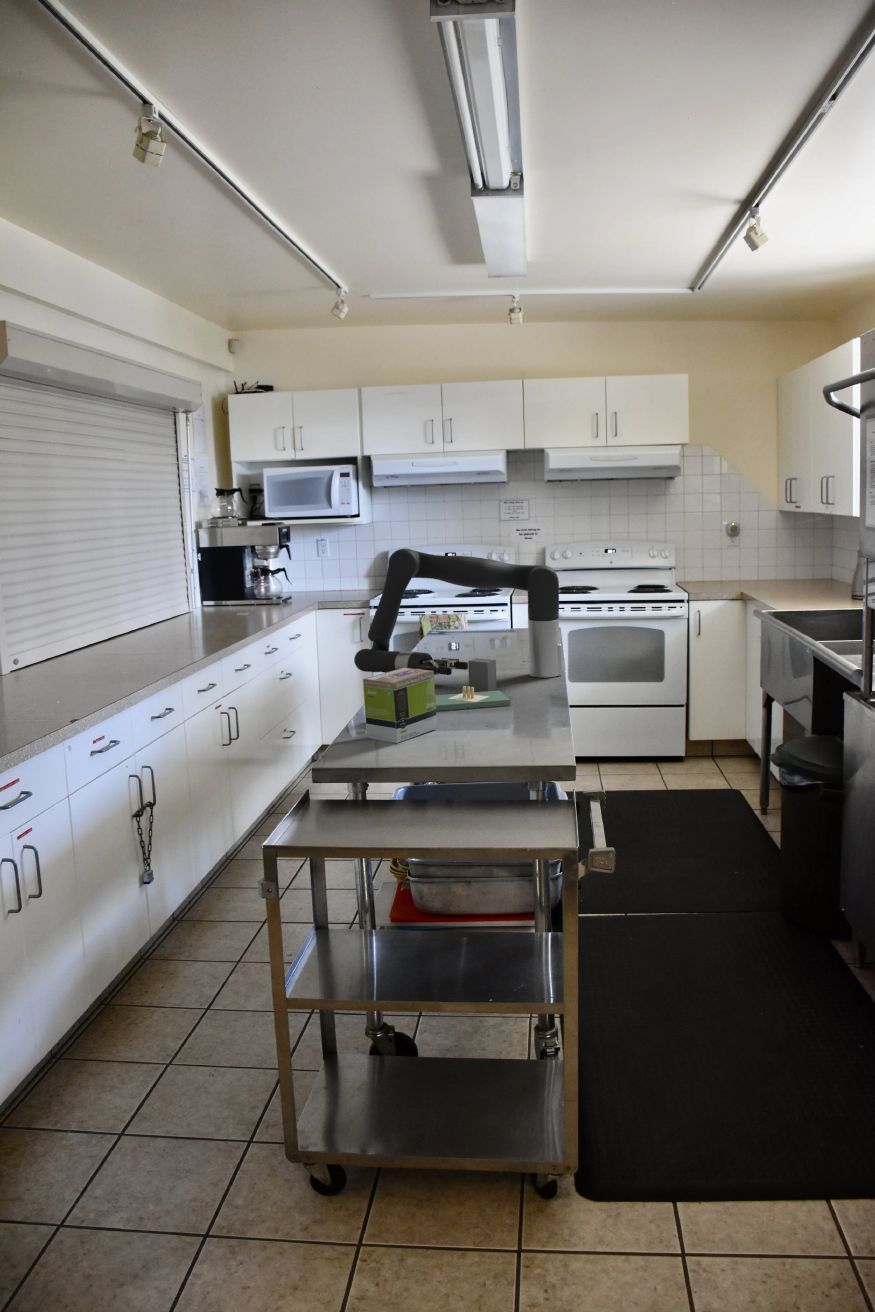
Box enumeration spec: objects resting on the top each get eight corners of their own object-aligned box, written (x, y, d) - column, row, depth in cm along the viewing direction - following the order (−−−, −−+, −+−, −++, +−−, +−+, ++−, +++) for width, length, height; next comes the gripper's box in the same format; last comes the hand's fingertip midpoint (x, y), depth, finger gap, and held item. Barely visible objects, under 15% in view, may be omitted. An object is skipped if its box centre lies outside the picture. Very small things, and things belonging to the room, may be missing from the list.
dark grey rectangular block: (469, 691, 268) (468, 660, 266) (477, 688, 271) (476, 658, 270) (488, 694, 264) (487, 662, 262) (496, 690, 268) (495, 659, 266)
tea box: (406, 724, 234) (404, 666, 231) (438, 730, 227) (435, 670, 225) (365, 738, 222) (361, 677, 220) (396, 744, 216) (394, 681, 213)
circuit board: (499, 695, 261) (498, 679, 261) (510, 705, 250) (509, 688, 249) (428, 701, 258) (427, 685, 257) (436, 711, 246) (435, 694, 245)
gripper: (398, 656, 274) (445, 660, 265) (427, 648, 285) (472, 651, 276) (400, 681, 275) (446, 686, 266) (428, 672, 287) (473, 676, 277)
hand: (459, 668), depth 271 cm, fingers open, 8 cm apart
